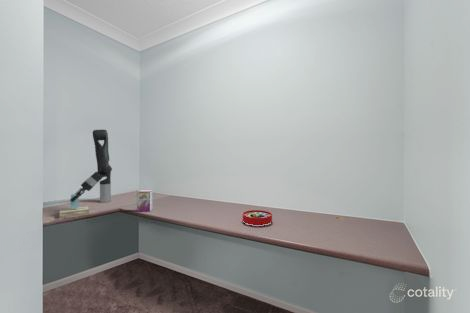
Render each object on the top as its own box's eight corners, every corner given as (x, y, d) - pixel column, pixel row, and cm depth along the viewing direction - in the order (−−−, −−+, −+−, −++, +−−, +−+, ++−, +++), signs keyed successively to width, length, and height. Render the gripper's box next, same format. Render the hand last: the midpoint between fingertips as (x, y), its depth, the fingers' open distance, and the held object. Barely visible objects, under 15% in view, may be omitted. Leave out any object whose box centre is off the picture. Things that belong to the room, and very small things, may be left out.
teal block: (71, 207, 178) (70, 194, 178) (77, 206, 180) (77, 193, 180) (71, 208, 174) (70, 195, 174) (78, 207, 177) (77, 194, 177)
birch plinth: (60, 214, 178) (60, 209, 178) (87, 210, 188) (87, 205, 188) (59, 218, 167) (59, 213, 166) (88, 214, 177) (88, 209, 177)
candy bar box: (136, 211, 187) (136, 191, 186) (139, 209, 192) (139, 190, 191) (149, 211, 185) (149, 191, 185) (152, 210, 190) (152, 190, 190)
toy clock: (244, 209, 169) (272, 210, 166) (244, 217, 169) (272, 218, 166) (240, 217, 149) (271, 218, 146) (240, 226, 150) (271, 228, 146)
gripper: (85, 179, 187) (67, 196, 180) (86, 181, 175) (66, 199, 169) (92, 185, 190) (75, 202, 183) (94, 187, 179) (75, 205, 172)
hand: (71, 200), depth 176 cm, fingers closed on teal block, 4 cm apart
